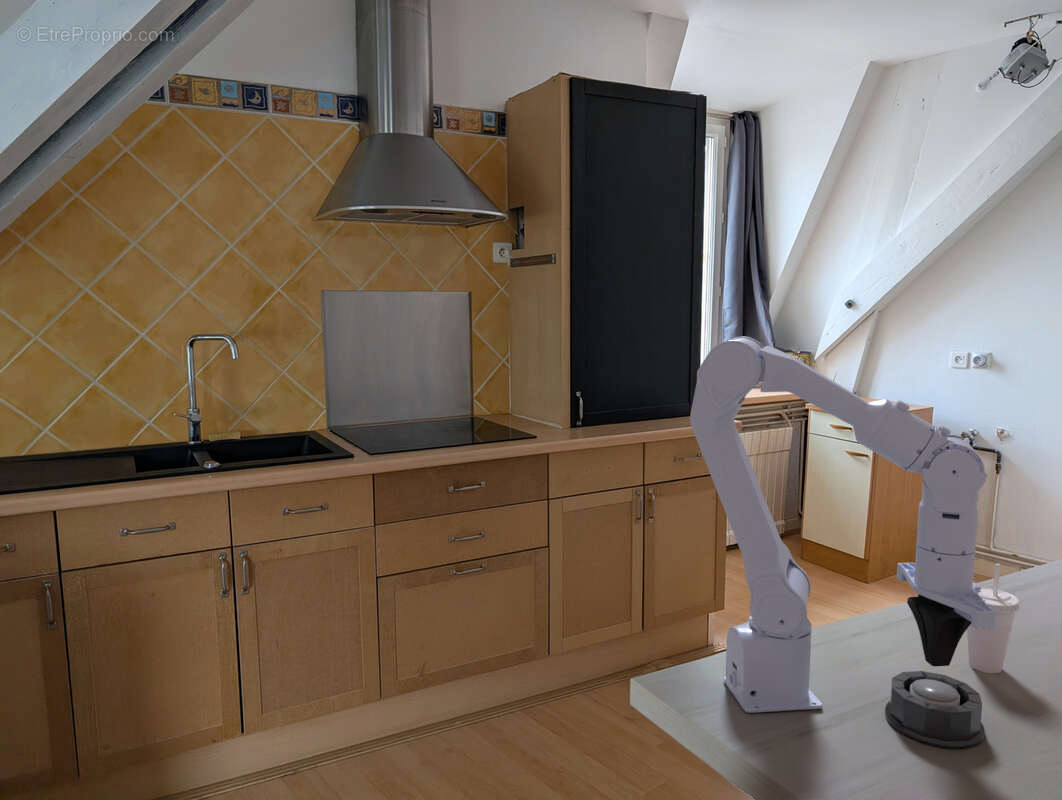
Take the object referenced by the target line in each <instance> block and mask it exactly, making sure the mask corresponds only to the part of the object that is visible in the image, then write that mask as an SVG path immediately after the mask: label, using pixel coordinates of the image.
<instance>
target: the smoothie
mask: <svg viewBox="0 0 1062 800" xmlns="http://www.w3.org/2000/svg"><path fill="white" fill-rule="evenodd" d="M1000 571H1001V564H1000V563H995V564H994V576H993V586H992V587H993V588H991V587H990V588H989V587H983V586H981V592H980V593H978V594H979V595H980V597H981V598H982V599H983V600H984V601H985V603H986V604H987V605H988V606H989V607H990V608H992V609H993V610H995V611H996V624H995V629H984V630H983V629H982V630H977V629H975V628H974V627H972V626H971V625H970V626H969V627H968V628H967V629H966V639H967V641H966V642H967V652H968V664H969V666H970V667H971V668H972V669H975V670H976V671H979V672H982V673H987V674H998V673H1001V672H1002V670H1003V666H1004V662H1005V657H1006V654H1007V649H1008V645H1009V640H1010V636H1011V633H1012V628H1013V624H1014V620H1015V615H1016V612H1018V611H1019V609H1020V600H1019V598H1017V596H1015V595H1013V594H1011V593H1010V592H1007V591H1004V590H1000V589H999V585H1000V573H1001V572H1000Z"/></svg>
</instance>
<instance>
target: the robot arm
mask: <svg viewBox="0 0 1062 800" xmlns="http://www.w3.org/2000/svg"><path fill="white" fill-rule="evenodd" d="M759 383H762V384H761V388H760V390H759V391H760V392H761V393H791V395H792V394H793V395H794V396H796V397H798V398H800V399H802V400H804V401H805V402H807V403H809V404H811V405H812V406H815V407H816V408H818V409H820V410H822V411H824V412H826V413H827V414H830V415H831V416H834V417H836V418H837V419H839V420H841V421H843V422H844V423H847V424H849V425H850V426H852V428H853V432H854V436H855V440H856V442H857V443H858V444H859V445H861V446H863V447H865V448H866V449H868V450H870V451H872V452H873V453H875V454H877V455H879V456H880V457H881V458H884V459H885V460H887V461H889V462H890V463H892V464H894V465H896V466H897V467H899V468H900V469H903V470H904V471H905V472H908V473H914V474H918V475H919V474H920V475H921V476H922V479H923V480H922V487H921V500H920V502H919V504H918V511H917V513H918V515H917V528H916V529H917V531H916V546H915V561H914V562H897V564H896V565H897V567H896V579H897V580H898V581H901V582H907V583H908V584H909V585H910V587H911V589H912V591H914V592H915V593H917V595H918V596H909V597H908V598H907V602H906V604H907V605H908V607H909V609H910V611H911V613H912V615H913V616H914V620H915V622H916V625H917V628H918V631H919V632H918V633H919V636H920V640H921V645H922V651H923V655H924V659H925V662H926V663H928V664H929V665H931V667H949V666H950V664H951V663H952V660H953V657H954V655H955V652H956V650H957V647H958V645H959V643H960V641H961V639H962V637H963V635H964V634H965V632H967V628H968V627H969V626H970V625H971V626H972V627H974V628H975V629H977V630H982V629H983V630H984V629H995V624H996V611H995V610H993V609H992V608H990V607H989V606H988V605H987V604H986V603H985V601H984V600H983V599H982V598H981V597H980V595H979V594H978V593H980V592H981V587H982V586H981V585H980V584H978V583H977V582H974V571H975V560H976V558H975V557H976V545H977V532H978V519H979V509H978V502H979V493H978V492H979V491H980V490H981V489H982V488H983V487H984V485H985V483H986V480H987V478H988V474H987V473H986V472H985V465H984V462H983V460H982V458H981V457H980V455H979V454H978V453H977V452H976V451H975V448H973V447H972V445H971V444H970V443H969V442H967V441H966V440H964V439H963V438H962V437H961V436H960V435H958V434H951V432H952V431H951V429H949V428H948V427H946V426H944V425H941V426H939V427H937V426H935V425H933V424H932V423H929V422H928V421H926V420H925V419H923V418H921V417H919V416H918V415H916V414H914V413H912V412H911V411H909V410H910V405H909V404H908V403H906V402H904V401H902V400H900V399H897V401H896V403H894V402H893V401H891V400H890V399H887V398H886V399H885V398H883V399H879V400H874V401H867V400H865V399H863V398H862V397H860V396H859V395H857V394H855V393H853V392H852V391H850V390H849V389H847V388H845V387H844V386H842V385H840V384H839V383H837V382H835V381H834V380H832V379H830V378H829V377H828V376H826V375H824V374H823V373H821V372H819V371H818V370H816V369H815V368H813V367H811V366H810V365H808V364H806V363H805V362H803V361H802V360H800V359H799V358H797V357H795V356H792V355H790V354H788V353H786V352H783V351H782V350H780V349H778V348H776V347H772V346H769V345H766V346H763V344H762V343H761V342H759V341H758V340H757V339H755V338H752V337H750V336H735V337H732V338H730V339H729V340H724V341H721V342H720V343H717V344H716V345H714V346H713V347H712V348H711V349H710V350H709V352H708V354H707V355H706V356H705V357H704V360H703V361H702V363H701V364H700V366H699V368H698V369H697V371H696V385H695V388H694V389H695V390H694V395H693V400H692V404H691V405H692V406H691V410H690V416H689V422H690V426H691V429H692V432H693V434H694V437H695V438H696V441H697V444H698V446H699V449H700V452H701V454H702V457H703V460H704V462H705V465H706V466H707V469H708V472H709V475H710V477H711V479H712V483H713V485H714V487H715V489H716V492H717V494H718V497H719V499H720V503H721V504H722V508H723V509H724V512H725V515H726V517H727V520H728V522H729V525H730V528H731V530H732V533H733V535H734V537H735V540H736V544H737V546H738V548H739V551H740V553H741V555H742V559H743V563H744V572H745V580H746V581H745V582H746V584H747V586H748V589H749V592H750V593H749V594H750V601H749V612H750V613H749V614H750V615H749V617H748V621H745V622H744V623H742V624H739V625H734V626H731V627H729V629H728V631H727V635H726V636H727V637H726V651H725V652H726V653H725V655H726V656H725V657H726V659H725V660H726V662H725V676H723V681H724V683H725V684H726V686H727V687H728V689H729V690H730V692H731V693H732V694H733V696H734V697H735V699H736V701H738V703H739V705H740V706H741V708H742V709H743V711H744V712H746V713H767V712H782V711H783V712H785V711H800V710H814V709H815V710H817V709H820V710H821V709H822V708H823V707H824V705H823V703H822V701H821V700H820V699H819V698H818V697H817V696H816V695H815V694H814V693H813V691H812V690H811V689H810V671H811V670H810V669H811V650H812V648H811V646H812V623H811V621H810V620H809V618H808V617H807V616H808V612H807V611H808V608H807V607H808V600H809V597H810V594H811V585H812V584H811V581H810V578H809V576H808V574H807V573H806V571H805V570H804V569H803V568H802V567H801V566H800V565H799V564H797V563H796V561H795V560H794V558H793V557H792V554H791V551H790V549H789V547H788V546H787V545H786V544H785V543H784V542H783V540H782V538H781V537H780V536H781V535H780V533H779V531H778V528H777V526H776V523H775V520H774V519H773V516H772V513H771V512H770V507H769V506H768V503H767V501H766V499H765V495H764V493H763V491H762V488H761V486H760V484H759V481H758V478H757V475H756V474H755V473H756V472H755V470H754V467H753V466H752V463H751V461H750V458H749V455H748V453H747V450H746V448H745V445H744V443H743V440H742V438H741V435H740V432H739V430H738V428H737V426H736V422H735V420H736V417H737V415H738V413H739V411H740V410H741V407H742V406H743V403H744V401H745V400H746V399H745V398H746V396H747V395H748V394H749V393H750V392H751V391H752V390H753V389H754V388H755V387H756V386H757V385H758V384H759Z"/></svg>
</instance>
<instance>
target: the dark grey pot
mask: <svg viewBox="0 0 1062 800" xmlns="http://www.w3.org/2000/svg"><path fill="white" fill-rule="evenodd" d="M921 679H929V680H936V681H940V682H943V683H945V684H948V685H950V686H951V687H953V688H954V689H955V690H956V691H957V692H958V694H959V695H960V704H959V706H942V705H937V704H932V703H928V702H925V701H923V700H921V699H918V698H916V697H914V696H912V695H911V694H910V685H911V684H912V683H913V682H914V681H916V680H921ZM890 689H891V690H890V700H889V701H888V702H887V703H886V705H885V709H884V716H885V719H886V721H887V723H888V724H889V725H890V727H892V728H893V729H894V730H895V731H897V732H898V733H899V734H902V735H903V736H904V737H907V738H908V739H910V740H913V741H915V742H917V743H920V744H923V745H926V746H930V747H934V748H939V749H944V750H945V749H946V750H968V749H973V748H976V747H977V746H979V745H981V744H982V743H983V741H985V740H984V739H985V733H986V731H985V726H984V724H983V723H982V711H983V702H982V698H981V694H980V693H979V692H978V691H976V690H975V689H974V688H972V687H971V686H970V685H968V684H967V682H964V681H961V680H959V679H956V678H954V677H950V676H948V675H946V674H940V673H937V672H929V671H923V670H918V671H917V670H915V671H902V672H900V673H898V674H896V675H895V676H893V677H892V678H891V688H890Z"/></svg>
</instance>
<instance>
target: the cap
mask: <svg viewBox="0 0 1062 800" xmlns="http://www.w3.org/2000/svg"><path fill="white" fill-rule="evenodd" d="M910 694H911V695H912V696H914V697H916V698H918V699H921V700H923V701H925V702H928V703H932V704H937V705H942V706H959V704H960V695H959V694H958V692H957V691H956V690H955V689H954V688H953V687H951V686H950V685H948V684H945V683H943V682H940V681H936V680H929V679H921V680H916V681H914V682H913V683H912V684H911V685H910Z"/></svg>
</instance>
